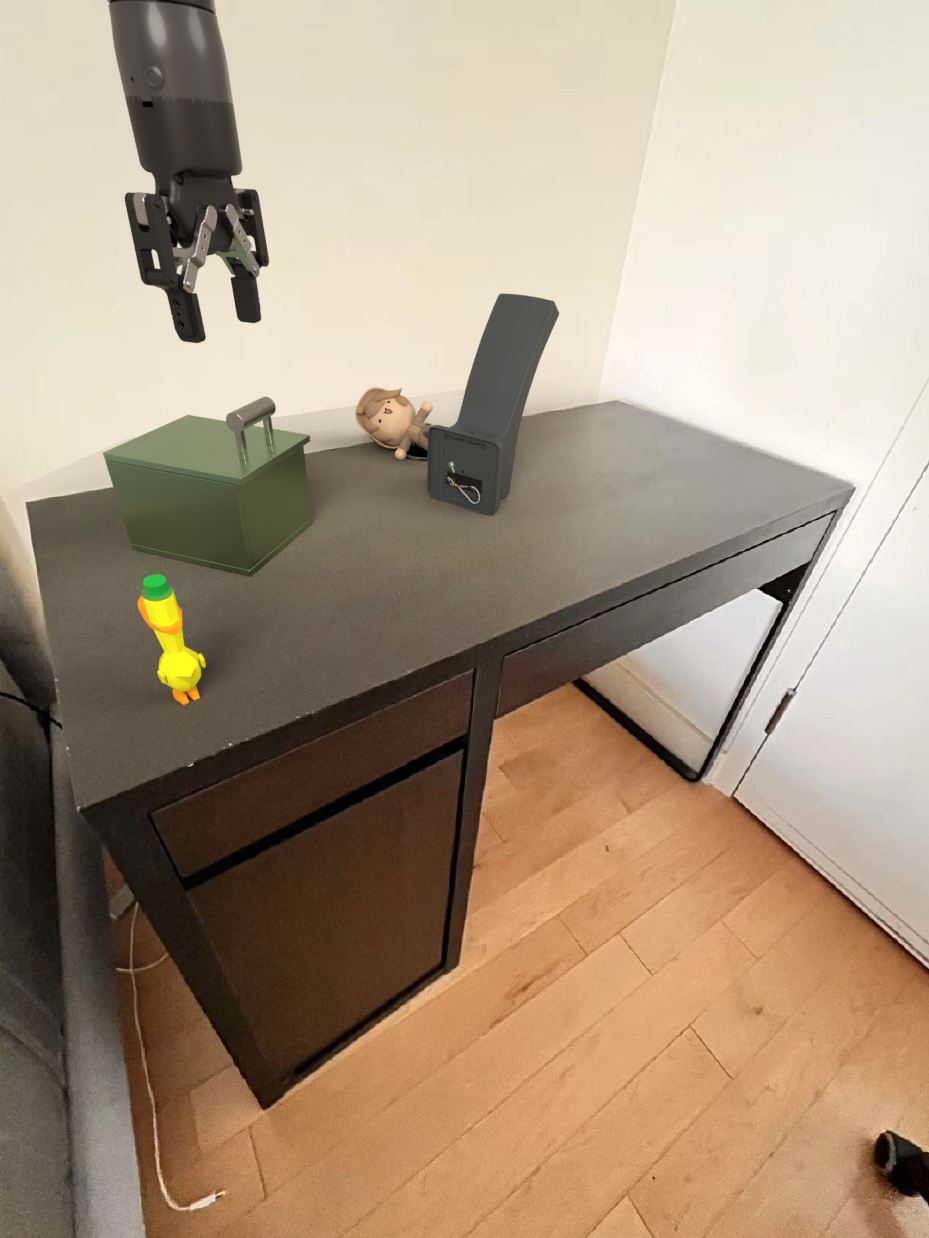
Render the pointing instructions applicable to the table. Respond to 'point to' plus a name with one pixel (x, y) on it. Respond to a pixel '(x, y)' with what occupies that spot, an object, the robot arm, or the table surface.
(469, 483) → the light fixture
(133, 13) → the robot arm
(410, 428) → the action figure
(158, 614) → the toy figure
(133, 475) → the bin
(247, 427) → the bin lid
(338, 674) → the table surface
